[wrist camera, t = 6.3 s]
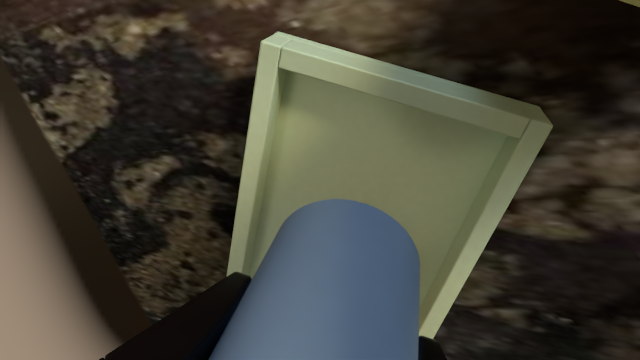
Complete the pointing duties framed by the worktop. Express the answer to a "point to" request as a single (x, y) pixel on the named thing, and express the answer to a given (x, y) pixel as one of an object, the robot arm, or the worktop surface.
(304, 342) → the blue bottle
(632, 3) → the tube
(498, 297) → the worktop surface
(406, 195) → the tray
